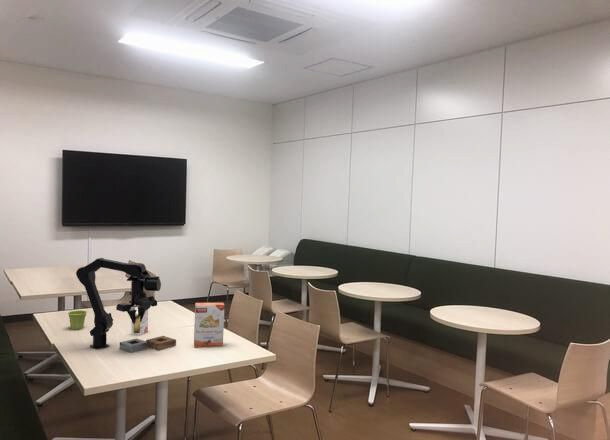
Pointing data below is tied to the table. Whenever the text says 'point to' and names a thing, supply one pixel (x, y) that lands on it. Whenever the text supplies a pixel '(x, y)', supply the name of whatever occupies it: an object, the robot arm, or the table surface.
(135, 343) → the socket block
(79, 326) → the plant pot
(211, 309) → the cracker box
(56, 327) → the table surface
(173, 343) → the brown square frame
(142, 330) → the ink cartridge box
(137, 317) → the brass peg
